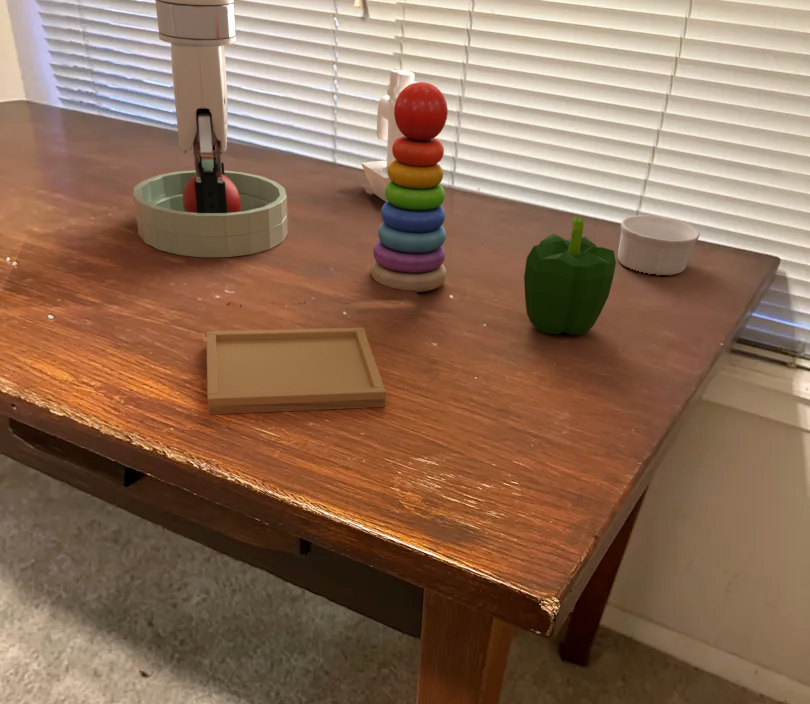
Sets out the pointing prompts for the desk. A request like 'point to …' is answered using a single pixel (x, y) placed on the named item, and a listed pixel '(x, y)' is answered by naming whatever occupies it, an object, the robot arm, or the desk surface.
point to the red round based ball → (231, 196)
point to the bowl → (211, 217)
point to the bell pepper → (567, 282)
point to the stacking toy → (414, 196)
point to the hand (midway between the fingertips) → (212, 207)
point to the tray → (291, 370)
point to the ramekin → (656, 244)
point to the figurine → (387, 131)
